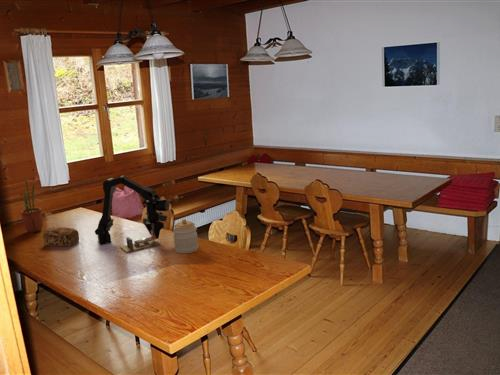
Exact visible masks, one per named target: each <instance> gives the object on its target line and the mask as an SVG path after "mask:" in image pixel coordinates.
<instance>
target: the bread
mask: <svg viewBox="0 0 500 375" xmlns="http://www.w3.org/2000/svg"><path fill="white" fill-rule="evenodd" d="M79 241H80V234H79V231H78V230H77V229H75V228H73V227H72V228H70V227H67V226H66V227H65V226H63V227H60V226H58V227H55V226H54V227H48V228H46V229H44V230H43V232H42V242H43V244H44V245H45V246H50V247H51V246H53V247H64V246H68V247H69V246H73V245H74V244H77V242H79Z"/></svg>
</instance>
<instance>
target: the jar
mask: <svg viewBox="0 0 500 375" xmlns="http://www.w3.org/2000/svg"><path fill="white" fill-rule="evenodd" d="M173 227H174V229H173V230H172V232H173V234H174V235H173V240H174V250H175V252H176V253H178V254H191V253H194V252H197V251H198V250H199V240H198V232H197V230H198V229H197V226H196V223H195V222H192V221H191V220H187V219H186V218H183V219H181V221H178V222H177V223H176V224H174V226H173Z"/></svg>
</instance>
